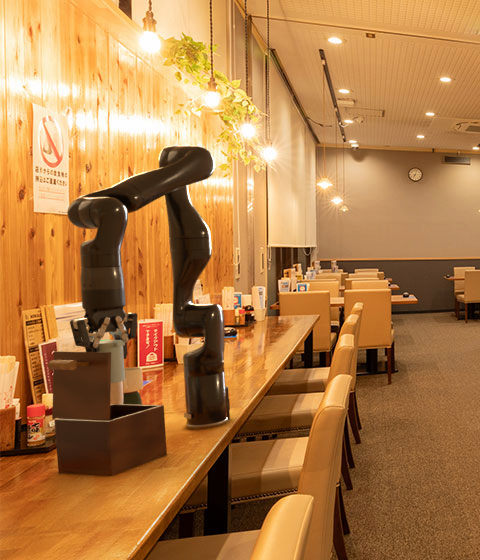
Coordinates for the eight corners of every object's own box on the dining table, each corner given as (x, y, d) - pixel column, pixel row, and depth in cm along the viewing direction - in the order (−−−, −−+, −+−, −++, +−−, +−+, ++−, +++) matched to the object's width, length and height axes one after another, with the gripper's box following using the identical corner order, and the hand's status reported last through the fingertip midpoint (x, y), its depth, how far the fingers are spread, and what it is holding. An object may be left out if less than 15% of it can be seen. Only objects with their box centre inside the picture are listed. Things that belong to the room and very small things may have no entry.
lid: (57, 351, 140) (30, 353, 135) (111, 352, 138) (86, 354, 133) (56, 417, 140) (29, 422, 135) (110, 419, 138) (85, 424, 133)
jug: (76, 383, 143) (73, 343, 142) (100, 378, 148) (97, 339, 148) (111, 384, 142) (109, 344, 141) (135, 378, 147) (132, 339, 146)
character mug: (118, 410, 192) (115, 367, 191) (147, 407, 196) (145, 365, 195) (110, 419, 183) (107, 374, 182) (141, 415, 186) (138, 371, 185)
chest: (117, 452, 154) (113, 403, 153) (166, 454, 152) (163, 405, 151) (58, 472, 140) (54, 419, 140) (112, 475, 138) (108, 421, 138)
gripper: (85, 289, 136) (91, 368, 137) (146, 284, 150) (151, 356, 151) (55, 289, 137) (60, 368, 138) (118, 284, 151) (123, 355, 152)
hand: (108, 361), depth 145 cm, fingers closed on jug, 5 cm apart
